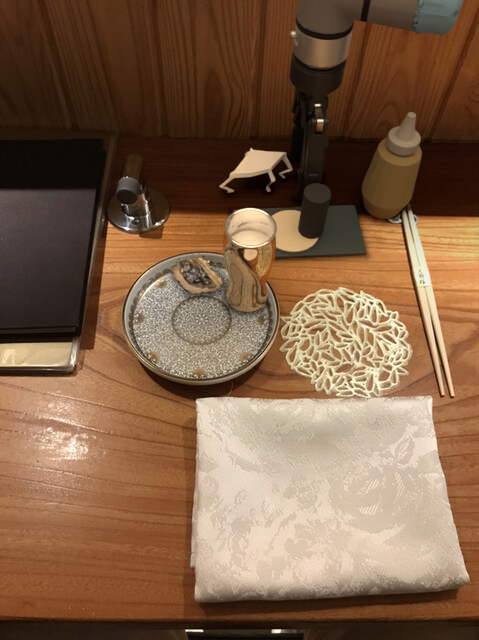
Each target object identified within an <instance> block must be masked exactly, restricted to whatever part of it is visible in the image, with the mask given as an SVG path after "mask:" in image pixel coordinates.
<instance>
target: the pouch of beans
mask: <svg viewBox="0 0 479 640" xmlns="http://www.w3.org/2000/svg"><path fill="white" fill-rule="evenodd" d="M183 262H184V263H183ZM210 262H211V261H210V259H208V260H207V258H206V257H205V258H194V259H185V260H183V261H180V262H177V261H176V265H173V266H172V267H170V272H171V273H173V276H174V278H175V279H176V281H179V285H182V288H183V289H184V290H186V291H188V292H190V294H191V295H192V294H199V295H200V294H202V293H205V294H206V293H210V292H212V293H213V292H216V291H219V289H220V288H221V285H222V281H223V280H222V277H221V276H219V274H218V273H217V271H213V270H212V268H213V266H212V265H211V264H210ZM182 263H183V265H182Z"/></svg>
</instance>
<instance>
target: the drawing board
mask: <svg viewBox="0 0 479 640" xmlns="http://www.w3.org/2000/svg"><path fill="white" fill-rule="evenodd" d="M301 207H302V206H295V207H293V206H292V207H291V206H290V207H268V208H267V207H266V208H265V207H264V208H260V209H261V210H263V211H265V212H267V213H269V214H270V215H271V216H272V217H273V218H274V220H275V222H276V225H277V245H276V254H275V260H278V259H302V258H305V259H306V258H323V257H324V258H326V257H345V256H346V257H348V256H351V257H352V256H366V255H367V250H366V246H365V240H364V237H363V232H362V229H361V224H360V221H359V216H358V212H357V211H358V210H357V208H356V205H355V204H345V205H329V208H328V212H327V217H326V221H325V226H324V230H323V234H322V235H321V236H320V237H318V238H315V239H308V238H305V237H303V236H302V235H301V234H300V233H299V231H298V225H299V219H300V213H301ZM237 210H239V208H237V209H232V213H233V212H235V211H237Z"/></svg>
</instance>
